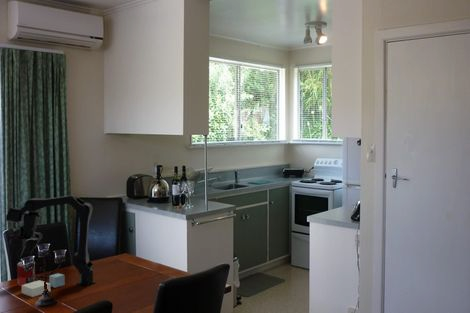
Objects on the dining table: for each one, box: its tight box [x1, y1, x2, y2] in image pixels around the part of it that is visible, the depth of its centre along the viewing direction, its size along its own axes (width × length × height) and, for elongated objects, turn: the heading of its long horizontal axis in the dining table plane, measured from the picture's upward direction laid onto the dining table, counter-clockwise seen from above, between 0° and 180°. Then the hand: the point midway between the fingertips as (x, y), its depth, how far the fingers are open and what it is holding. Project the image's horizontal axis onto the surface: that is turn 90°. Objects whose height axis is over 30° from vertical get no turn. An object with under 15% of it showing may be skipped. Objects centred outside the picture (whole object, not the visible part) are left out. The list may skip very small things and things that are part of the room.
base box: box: [21, 279, 52, 298], centre depth 215 cm, size 9×9×4 cm
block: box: [48, 273, 66, 288], centre depth 225 cm, size 5×5×5 cm
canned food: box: [16, 261, 36, 288], centre depth 225 cm, size 8×8×11 cm
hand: (24, 255), depth 224 cm, fingers open, 9 cm apart
